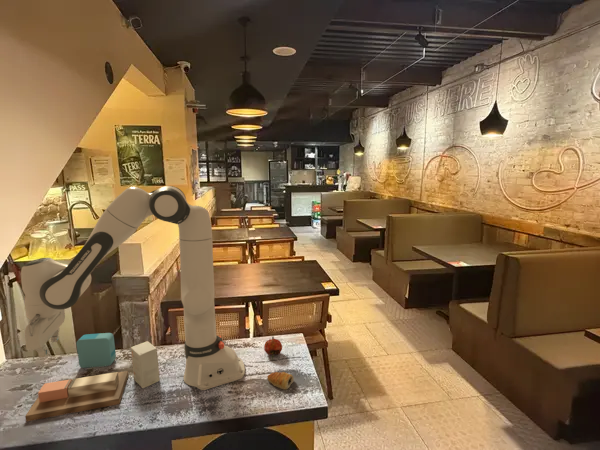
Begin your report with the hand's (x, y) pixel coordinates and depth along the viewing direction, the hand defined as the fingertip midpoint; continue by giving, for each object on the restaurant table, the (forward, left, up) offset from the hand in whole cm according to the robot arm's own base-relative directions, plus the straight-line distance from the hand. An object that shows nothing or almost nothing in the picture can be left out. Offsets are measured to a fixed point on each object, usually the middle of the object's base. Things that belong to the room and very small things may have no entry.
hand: (49, 348), depth 110 cm
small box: (-27, -3, -20) cm, 34 cm away
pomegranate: (-75, -5, -20) cm, 78 cm away
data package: (-7, -20, -20) cm, 29 cm away
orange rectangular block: (0, 0, -17) cm, 17 cm away
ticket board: (-7, 0, -19) cm, 21 cm away
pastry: (-74, +13, -20) cm, 78 cm away
